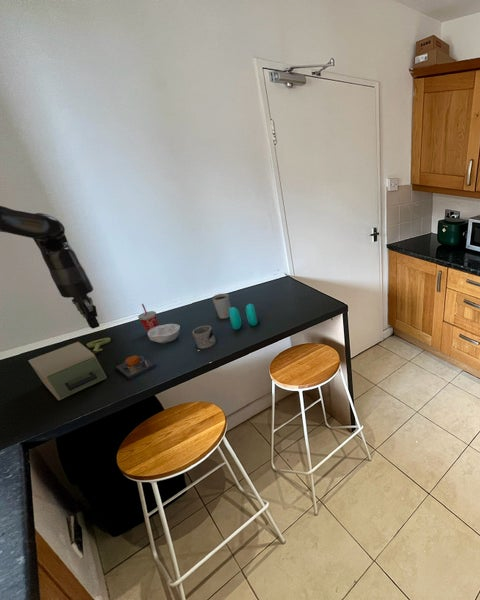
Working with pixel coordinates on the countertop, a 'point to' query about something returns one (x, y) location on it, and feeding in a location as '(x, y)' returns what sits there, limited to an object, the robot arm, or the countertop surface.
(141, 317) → the beverage cup
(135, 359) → the button
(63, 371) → the pull-out drawer
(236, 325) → the donuts
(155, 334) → the cell model
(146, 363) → the control block
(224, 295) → the drinking glass
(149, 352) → the countertop surface
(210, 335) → the mug
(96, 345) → the key
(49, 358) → the small drawer cabinet
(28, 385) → the countertop surface
